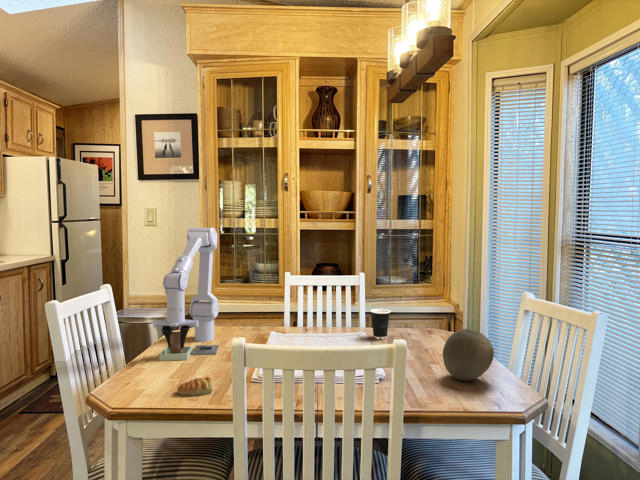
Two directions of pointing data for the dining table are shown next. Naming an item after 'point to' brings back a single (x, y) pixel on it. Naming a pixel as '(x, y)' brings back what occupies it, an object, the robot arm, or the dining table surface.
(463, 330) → the cantaloupe
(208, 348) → the socket block
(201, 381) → the pastry
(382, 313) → the dixie cup
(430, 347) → the dining table surface
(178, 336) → the strut
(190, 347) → the bin
